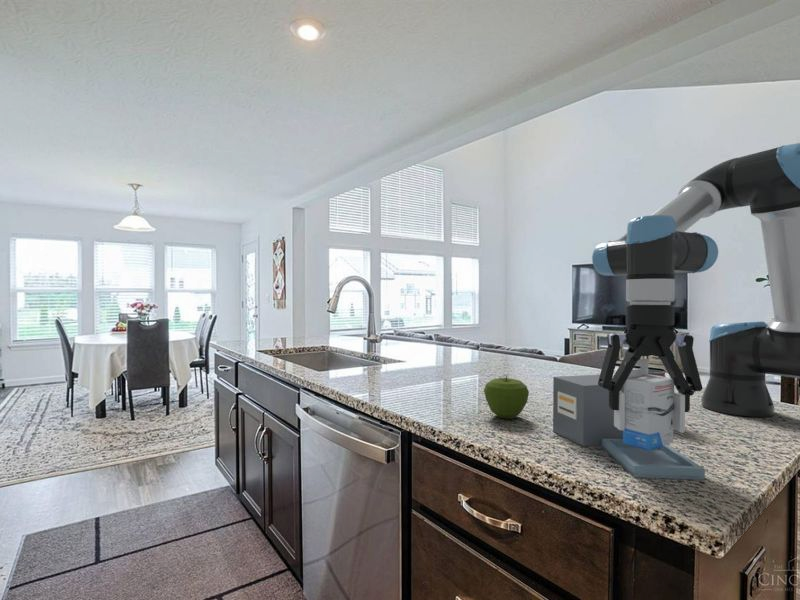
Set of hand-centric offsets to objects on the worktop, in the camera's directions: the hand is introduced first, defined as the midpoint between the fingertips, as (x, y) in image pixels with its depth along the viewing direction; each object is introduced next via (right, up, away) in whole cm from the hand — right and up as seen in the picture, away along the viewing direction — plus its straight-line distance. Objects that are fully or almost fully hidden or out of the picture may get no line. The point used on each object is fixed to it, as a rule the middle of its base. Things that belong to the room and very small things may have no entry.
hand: (648, 429), depth 77 cm
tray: (0, -6, 0) cm, 6 cm away
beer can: (+15, -6, +26) cm, 31 cm away
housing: (-4, -6, +14) cm, 16 cm away
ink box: (0, -3, 0) cm, 3 cm away
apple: (-18, -6, +29) cm, 35 cm away
